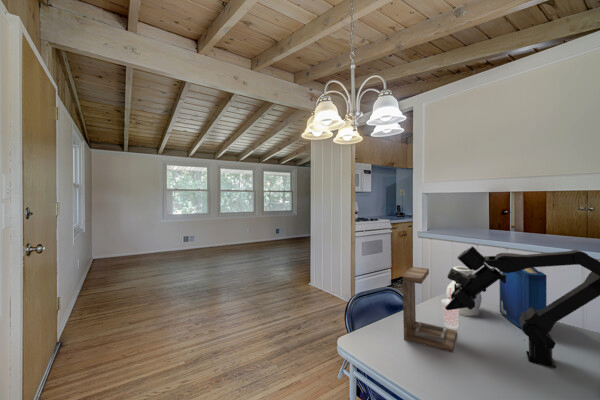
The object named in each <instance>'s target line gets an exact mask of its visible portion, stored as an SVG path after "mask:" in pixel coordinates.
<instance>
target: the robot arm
mask: <svg viewBox="0 0 600 400" xmlns="http://www.w3.org/2000/svg"><path fill="white" fill-rule="evenodd" d="M456 259H457V260H458V261H459V262H461V263H462V264H463V265H464V267H467V268H468V269H470V270H472V269H473V271H476V272H473V274H469V275H468V276H466V275H464V274H463V273H461V272H459V271H457V270H455V269H453V267H452V268H450V270H449V271H448V274H447V278H448V279H449V280H450V281H455V283H456V284H458V285H456V284H454V292H453V293H452V294H451V299H452V300H451V301H450V303H449V304H448V305H447V306H446V307H445V308H446V309H447V310H453V309H460V308H469V309H470V310H471V309H473V308H474V307H475V300H474V299H475V298H477V297H476V296H477V295H478V294H479V293H481V294H482V292H483V293H485V292H486V291H487V289H488V288H489V287H490V286H492V285H493V284H494V283H496V282H498V281H500V280H501V281H502V282H503V283H504V284H506V274H501V273H500V272H499V271H501V272H503V273H512V272H517V271H521V270H524V269H527V268H532V267H534V268H544V267H547V268H548V267H559V266H562V267H563V266H574V265H575V266H577V265H578V266H581V267H583V268H584V269H587V270H588V271H590V272H589V274H588V275H587V277H586V278H585V280H584V281H583V282H582V283H580V284H579V285H578V286H576V287H574V288H573V289H571V290H570V291H568V292H567V293H565V294H564V295H562V296H560V297H559V298H557V299H556V300H554V301H553V302H551V303H549V304H548V305H546V307H545V308H543V309H539V310H534V309H533V307H530V308H529V309H528V310H527V311H525V312H522V313H521V316H520V318H519V323H520V325H521V327H522V329H521V330H522V331H523V333H524V335H525V336H527V337H528V350H526V351H525V353H526V357H527V359H528V362H530V363H534V364H537V365H541V366H546V367H550V368H552V369H553V368H554V369H556V368H557V365H556V362H555V360H554V359H553V358H554V357H553V349H554V348H555V346H556V341H555V340H554V338H553V337H552V335H551V333H550V332H551V331H552V330H553V328H554V326H555V324H557V322H559V321H561V320H562V319H563V318H565V317H567V316H569V315H571V314H572V313H573V312H576V311H577V310H578V309H581V308H582V307H583V306H585V305H587V304H588V303H590V302H592V301H593V300H595V299H597V298H599V297H600V261H599V260H598V259H596V258H594V257H592V256H590V255H589V254H588V253H586V252H584V251H582V250H579V249H572V250H567V251H556V252H555V251H554V252H543V253H532V254H530V253H529V254H521V253H511V252H510V253H509V252H500V253H497V254H496V255H488V256H485V255H483V254H482V253H480V252H479V251H478V250H477V248H476V247H474V246H473V245H471V247H470V248H469V247H468V248H467V249H466V250H464V251H462V252H461V253H460V254H459V255H458V256H457V258H456ZM499 279H500V280H499ZM448 299H450V297H449V298H448Z"/></svg>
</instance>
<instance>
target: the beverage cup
mask: <svg viewBox="0 0 600 400" xmlns="http://www.w3.org/2000/svg"><path fill="white" fill-rule="evenodd" d="M451 300H452V299H451V288H450V299H447V298H442V299H441V300H440V301H441V304H442V305H441V306H442V316H443V317H442V318H443V326H445V328H447V329H452V330H456V329H458V328H459V319H460V315H459V309H453V310H447V309H446V308H445V307H446V306H447V305H448V304H449V303H450V301H451Z"/></svg>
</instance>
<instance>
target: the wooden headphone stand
mask: <svg viewBox="0 0 600 400" xmlns="http://www.w3.org/2000/svg"><path fill="white" fill-rule="evenodd" d="M429 271H430V268H424V267H416V266H411V267H410V268H409V269H408V270H407V271H406V272H405V273H404V274H403V275H402V305H403V306H402V309H403V314H402V315H403V340H405V341H408V342H412V343H416V344H419V345H422V346H427V347H431V348H434V347H435V349H439V350H442V351H445V350H446V352H450V353H454V347H455V342H456V337H457V330H456V329H452V328H448V327H446V326H445V327H444V326H439V325H436V324H435V325H434V324H430V323H426V322H421V321H416V320H417V318H416V284H418V285H419V284H420V285H422V284H423V282H424V281H425V280H426V278H427V277H428V275H429V274H430V273H429Z"/></svg>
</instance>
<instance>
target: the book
mask: <svg viewBox="0 0 600 400" xmlns="http://www.w3.org/2000/svg"><path fill="white" fill-rule="evenodd" d="M498 271H499V270H498ZM499 272H500V273H501V274H506V284H504V283H503V282H502V281H501V280H500V279H499V280H498V281H499V312H500V314H501V315H502V316H503V317H505V318H506V319H507V320H508V321H509V322H511V323H512V324H514V325H515V326H517V328H519V329H521V330H522V327H521V325H520V323H519V318H520V316H521V313H522V312H525V311H527V310H528V309H529V308H530V307H533V309H534V310H539V309H543V308H545V307H546V306H547V275H546V274H545V273H544V272H542V271H539V270H538V269H537V268H536V267H532V268H527V269H524V270H521V271H517V272H512V273H503V272H501V271H499Z"/></svg>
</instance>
